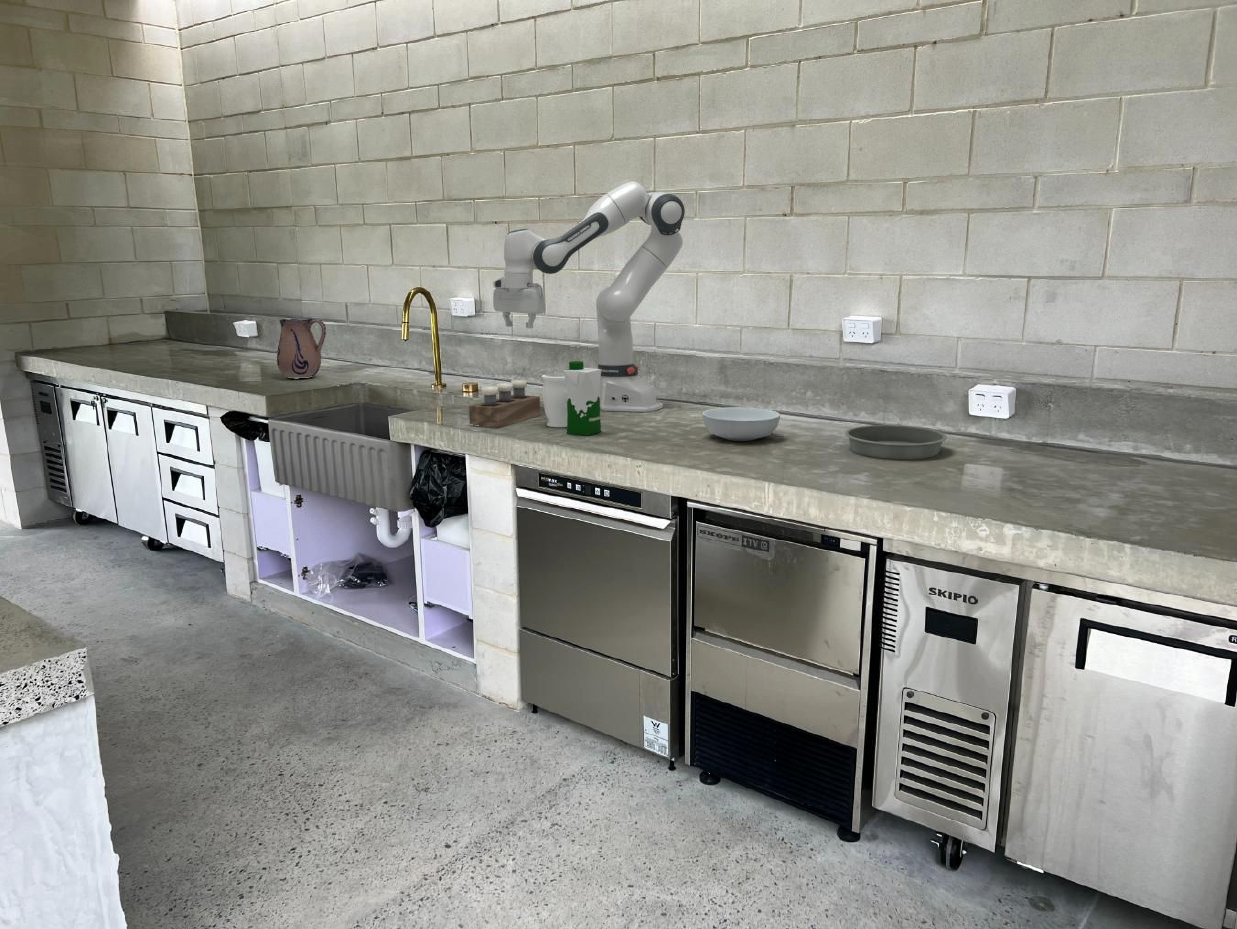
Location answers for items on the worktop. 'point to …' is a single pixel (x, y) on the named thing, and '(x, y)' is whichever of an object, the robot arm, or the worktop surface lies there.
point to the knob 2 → (519, 388)
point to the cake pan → (895, 441)
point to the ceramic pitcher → (299, 348)
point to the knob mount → (505, 412)
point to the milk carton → (583, 399)
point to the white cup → (555, 399)
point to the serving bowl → (741, 422)
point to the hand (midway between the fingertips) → (519, 327)
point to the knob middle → (505, 392)
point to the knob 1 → (490, 395)
